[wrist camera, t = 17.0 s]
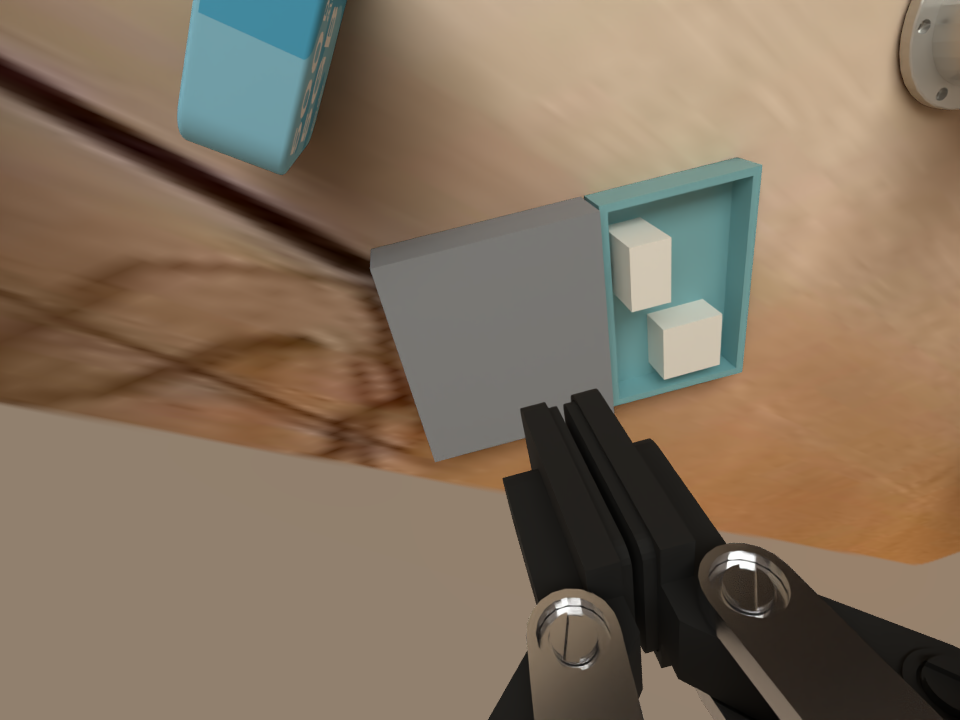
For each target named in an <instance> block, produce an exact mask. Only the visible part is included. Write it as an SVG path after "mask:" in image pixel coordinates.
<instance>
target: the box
mask: <svg viewBox="0 0 960 720" xmlns="http://www.w3.org/2000/svg"><path fill="white" fill-rule="evenodd" d="M761 173H762V165H760V164H757V163H754V162H751V161H747V160H744V159H741V158H733V159H729V160H725V161H721V162H717V163H713V164H709V165H705V166H701V167H697V168H693V169H689V170H685V171H681V172H677V173H673V174H669V175H665V176H661V177H657V178H653V179H649V180H645V181H641V182H637V183H633V184H629V185H625V186H621V187H617V188H613V189H609V190H605V191H601V192H598V193H594V194H590V195H586V196H584V198H585V200H586V201H587V202H588V203H590V204H591V205H592V206H594V207H595V208H596V209H598V210H599V211H600V219H601V234H602V248H603V262H604V276H605V290H606V304H607V318H608V332H609V347H610V361H611V375H612V389H613V403H614V406H617V405H620V404H624V403H628V402H632V401H635V400H639V399H643V398H647V397H650V396H654V395H658V394H662V393H665V392H669V391H673V390H677V389H680V388H684V387H688V386H692V385H695V384H699V383H703V382H707V381H710V380H714V379H718V378H722V377H725V376H729V375H733V374H737V373H740V372H742V367H743V357H744V347H745V337H746V327H747V316H748V306H749V296H750V286H751V275H752V265H753V255H754V245H755V234H756V224H757V214H758V204H759V194H760V183H761ZM639 217H641V218H642V219H644V220H645V221H647V222H648V223H650V224H651V225H653V226H655V227H656V228H658V229H659V230H661V231H662V232H664V233H665V234H667V235H669V236H670V237H671V302H670V303H666V304H662V305H658V306H654V307H651V308H647V309H643V310H639V311H635V312H631V311H630V310H629V309H628V308H627V307H626V306H625V305H624V304H623V302H622V301H621V300H620V299H619V298H618V297H617V296H616V295H615V294H614V293H613V290H612V274H611V258H610V242H609V226H608V225H611V224H615V223H619V222H623V221H627V220H631V219H635V218H639ZM700 299H704V300H705V301H706V302H707V303H709V304H710V305H711V306H713V307H714V308H715V309H716V310H718V311H719V312H720V313H722V331H721V348H720V365H716V366H713V367H709V368H705V369H702V370H698V371H694V372H691V373H687V374H684V375H680V376H676V377H673V378H669V379H665V380H664V379H663V378H662V377H661V376H660V375H659V373H658V372H657V371H656V370H655V369H654V368H653V366H652V365H651V364H650V363H649V359H648V330H647V314H649V313H652V312H656V311H660V310H663V309H667V308H671V307H674V306H678V305H682V304H686V303H689V302H693V301H697V300H700Z"/></svg>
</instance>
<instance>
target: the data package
mask: <svg viewBox="0 0 960 720" xmlns="http://www.w3.org/2000/svg"><path fill="white" fill-rule="evenodd" d="M346 2H347V0H193V5H192V12H191V19H190V26H189V33H188V40H187V47H186V53H185V60H184V67H183V74H182V81H181V88H180V95H179V102H178V113H177V120H178V128H179V131H180V134H181V135H182V137H183V138H185V139H186V140H188V141H191V142H193V143H196V144H199V145H201V146H204V147H207V148H210V149H212V150H215V151H218V152H220V153H223V154H226V155H228V156H231V157H234V158H236V159H239V160H242V161H244V162H247V163H250V164H253V165H255V166H258V167H261V168H263V169H266V170H269V171H271V172H274V173H277V174H280V175H283V174H285V173H286V172H287V171H288V170H289V168H290V167H291V166H292V164H293V163H294V162H295V160H296V159H297V158H298V156H299V155H300V154H301V153H302V151H303V150H304V149H305V147H306V146H307V145H308V143H309V141H310V138H311V135H312V132H313V129H314V126H315V122H316V118H317V114H318V111H319V107H320V103H321V99H322V95H323V91H324V87H325V83H326V79H327V76H328V72H329V68H330V64H331V60H332V56H333V52H334V48H335V44H336V40H337V37H338V33H339V29H340V25H341V21H342V17H343V13H344V9H345V5H346Z"/></svg>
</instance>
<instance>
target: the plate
mask: <svg viewBox="0 0 960 720" xmlns="http://www.w3.org/2000/svg"><path fill="white" fill-rule="evenodd" d="M370 270H371V273H372V276H373V279H374V282H375V285H376V288H377V291H378V294H379V297H380V300H381V303H382V306H383V309H384V312H385V315H386V318H387V321H388V324H389V327H390V330H391V333H392V336H393V338H394V341H395V344H396V347H397V350H398V353H399V356H400V359H401V362H402V365H403V368H404V371H405V374H406V377H407V380H408V383H409V386H410V389H411V392H412V395H413V398H414V401H415V404H416V407H417V410H418V413H419V416H420V419H421V422H422V425H423V428H424V431H425V433H426V436H427V439H428V442H429V445H430V448H431V451H432V454H433V457H434V460H435V462H437V461H441V460H444V459H448V458H452V457H456V456H459V455H463V454H467V453H471V452H474V451H478V450H482V449H486V448H489V447H493V446H497V445H501V444H504V443H508V442H512V441H516V440H519V439H523V438H525V433H524V428H523V423H522V418H521V413H520V408H524V407H527V406H531V405H535V404H539V403H542V402H545V403H546V404H547V406H548V408H550V407H554V406H557V407H558V409H559V411H560V413H561V415H562V417H563V419H564V421H565V417H564V410H563V404H565V403H569V402H571V395H573V394H576V393H580V392H584V391H588V390H591V389H595V388H596V389H598V390H599V392H600V393H601V395H602V396H603V398H604V399H605V401H606V402H607V404H608V405H609V407H610V409H611V410H612V412H613V413H614V403H613V389H612V375H611V361H610V347H609V332H608V318H607V304H606V290H605V276H604V262H603V248H602V234H601V219H600V211H599V210H598V209H596V208H595V207H594V206H592V205H591V204H590V203H588V202H587V201H586V200H584V199H583V198H581V197H578V198H574V199H570V200H566V201H562V202H558V203H554V204H550V205H546V206H542V207H538V208H534V209H530V210H526V211H522V212H518V213H514V214H510V215H506V216H502V217H498V218H494V219H490V220H486V221H482V222H478V223H474V224H470V225H466V226H462V227H458V228H454V229H450V230H446V231H442V232H438V233H434V234H430V235H426V236H422V237H418V238H414V239H410V240H406V241H402V242H398V243H394V244H390V245H386V246H382V247H378V248H374V249H371V260H370Z"/></svg>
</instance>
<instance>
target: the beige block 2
mask: <svg viewBox="0 0 960 720" xmlns="http://www.w3.org/2000/svg"><path fill="white" fill-rule="evenodd" d="M647 330H648V359H649V363H650V364H651V365H652V366H653V368H654V369H655V370H656V371H657V372H658V373H659V375H660V376H661V377H662V378H663V379H664V380H665V379H669V378H673V377H676V376H680V375H684V374H687V373H691V372H694V371H698V370H702V369H705V368H709V367H713V366H716V365H720V348H721V331H722V313H720V312H719V311H718V310H716V309H715V308H714V307H713V306H711V305H710V304H709V303H707V302H706V301H705V300H704V299H700V300H697V301H693V302H689V303H686V304H682V305H678V306H674V307H671V308H667V309H663V310H660V311H656V312H652V313H649V314H647Z"/></svg>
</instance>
